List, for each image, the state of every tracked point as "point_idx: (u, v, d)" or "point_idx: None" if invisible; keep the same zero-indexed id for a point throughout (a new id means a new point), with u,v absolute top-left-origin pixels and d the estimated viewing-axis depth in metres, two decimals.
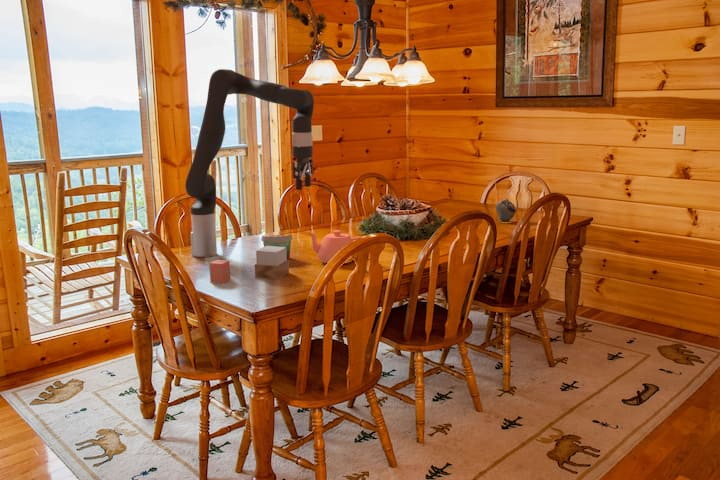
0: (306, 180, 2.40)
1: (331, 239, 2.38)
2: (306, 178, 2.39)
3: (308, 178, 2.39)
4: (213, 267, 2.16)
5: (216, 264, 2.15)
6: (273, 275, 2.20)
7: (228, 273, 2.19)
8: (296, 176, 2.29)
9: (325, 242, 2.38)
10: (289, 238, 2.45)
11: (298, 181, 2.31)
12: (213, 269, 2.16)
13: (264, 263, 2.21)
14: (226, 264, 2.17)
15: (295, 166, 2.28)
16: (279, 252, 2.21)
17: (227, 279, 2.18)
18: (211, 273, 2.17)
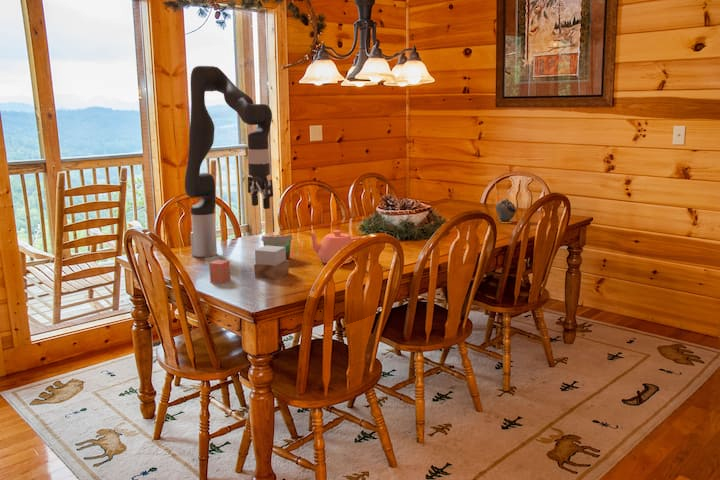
0: (254, 199, 2.28)
1: (331, 239, 2.38)
2: (254, 197, 2.27)
3: (256, 196, 2.28)
4: (213, 267, 2.16)
5: (216, 264, 2.15)
6: (273, 275, 2.20)
7: (228, 273, 2.19)
8: (270, 194, 2.19)
9: (325, 242, 2.38)
10: (289, 238, 2.45)
11: None
12: (213, 269, 2.16)
13: (263, 263, 2.22)
14: (226, 264, 2.17)
15: (269, 184, 2.18)
16: (278, 252, 2.21)
17: (227, 279, 2.18)
18: (211, 273, 2.17)
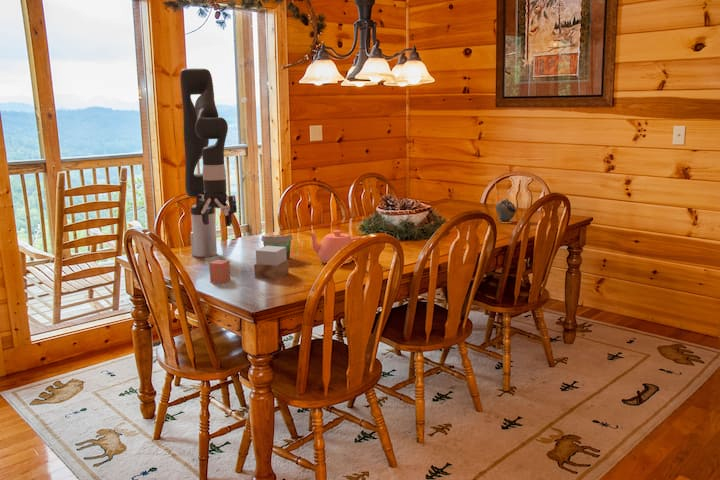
0: (206, 217, 2.15)
1: (331, 239, 2.38)
2: (206, 215, 2.15)
3: (207, 215, 2.16)
4: (213, 267, 2.16)
5: (216, 264, 2.15)
6: (273, 275, 2.20)
7: (228, 273, 2.19)
8: (234, 210, 2.12)
9: (325, 242, 2.38)
10: (289, 238, 2.45)
11: None
12: (213, 269, 2.16)
13: (264, 263, 2.22)
14: (226, 263, 2.17)
15: (233, 200, 2.11)
16: (279, 252, 2.21)
17: (227, 279, 2.18)
18: (211, 273, 2.17)
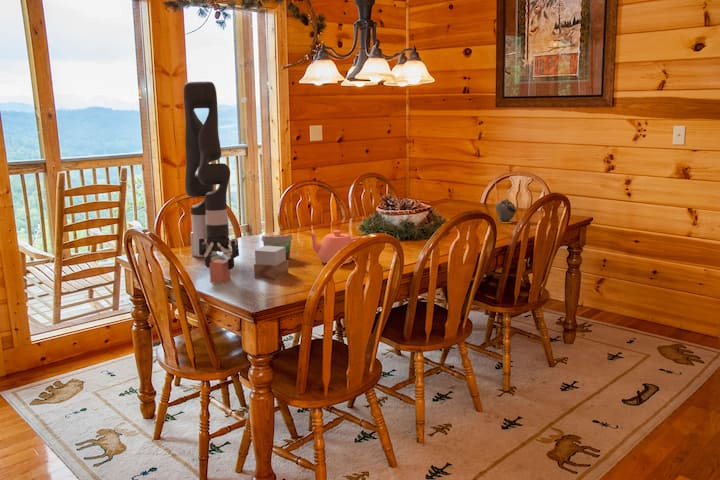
0: (208, 261, 2.18)
1: (331, 239, 2.38)
2: (208, 258, 2.18)
3: (210, 258, 2.19)
4: (213, 267, 2.16)
5: (216, 264, 2.15)
6: (273, 275, 2.20)
7: (228, 273, 2.19)
8: (237, 254, 2.15)
9: (325, 242, 2.38)
10: (289, 238, 2.45)
11: None
12: (213, 269, 2.16)
13: (263, 263, 2.21)
14: (226, 264, 2.17)
15: (236, 244, 2.14)
16: (278, 252, 2.21)
17: (227, 279, 2.18)
18: (211, 273, 2.17)
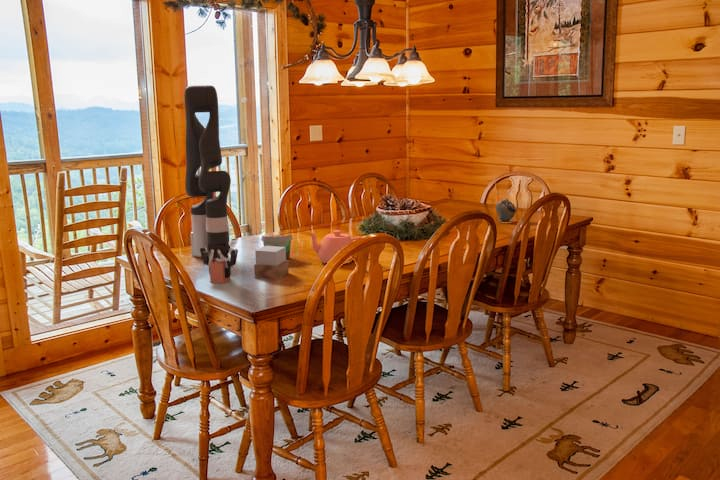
0: None
1: (331, 239, 2.38)
2: None
3: None
4: (213, 267, 2.16)
5: (216, 264, 2.15)
6: (273, 275, 2.20)
7: None
8: (233, 264, 2.16)
9: (325, 242, 2.38)
10: (289, 238, 2.45)
11: None
12: (212, 269, 2.16)
13: (263, 263, 2.21)
14: None
15: (235, 254, 2.15)
16: (278, 252, 2.21)
17: (227, 279, 2.18)
18: (211, 273, 2.17)
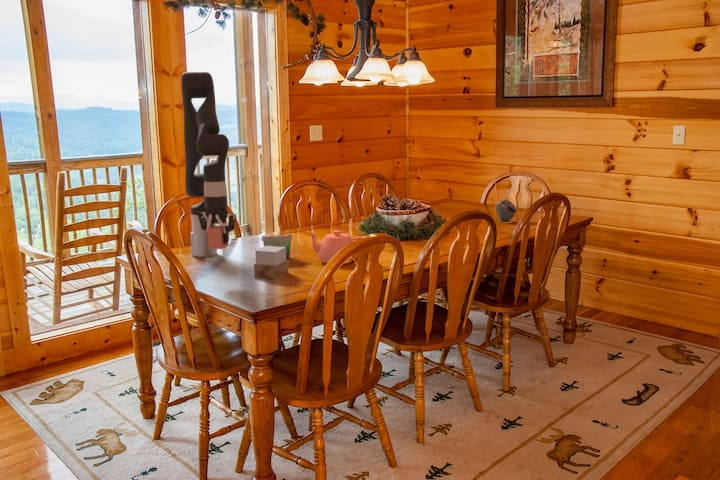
0: None
1: (331, 239, 2.38)
2: None
3: None
4: (211, 232, 2.13)
5: (214, 229, 2.13)
6: (273, 275, 2.20)
7: None
8: (231, 229, 2.13)
9: (325, 242, 2.38)
10: (289, 238, 2.45)
11: None
12: (210, 234, 2.13)
13: (263, 263, 2.21)
14: None
15: (233, 219, 2.12)
16: (278, 252, 2.21)
17: (225, 245, 2.16)
18: (209, 238, 2.14)
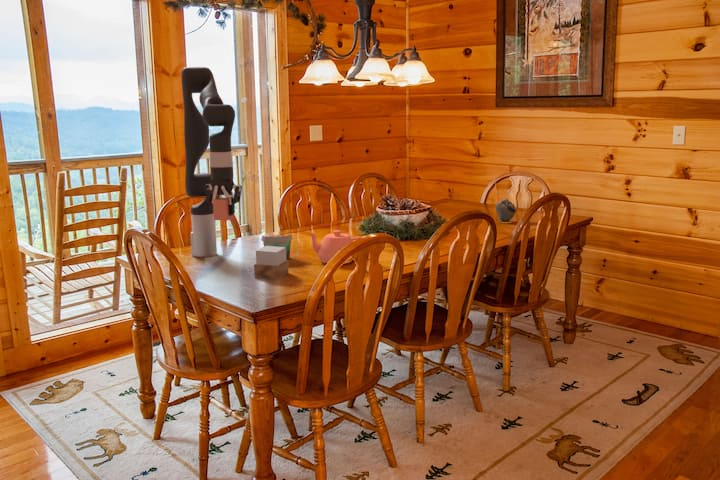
0: None
1: (331, 239, 2.38)
2: None
3: None
4: (217, 203, 2.12)
5: (219, 200, 2.11)
6: (273, 275, 2.20)
7: None
8: (237, 200, 2.12)
9: (325, 242, 2.38)
10: (289, 238, 2.45)
11: None
12: (216, 205, 2.12)
13: (264, 263, 2.21)
14: None
15: (239, 190, 2.11)
16: (279, 252, 2.21)
17: (231, 217, 2.15)
18: (214, 210, 2.13)
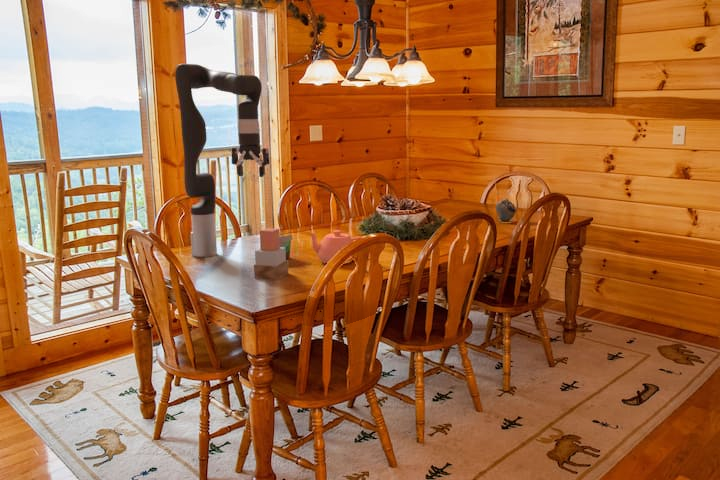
0: (240, 169, 2.32)
1: (331, 239, 2.38)
2: (240, 167, 2.32)
3: (241, 167, 2.32)
4: (263, 234, 2.20)
5: (266, 232, 2.19)
6: (273, 275, 2.20)
7: (277, 241, 2.23)
8: (267, 162, 2.28)
9: (325, 242, 2.38)
10: (289, 238, 2.45)
11: None
12: (263, 236, 2.20)
13: (263, 263, 2.20)
14: (276, 232, 2.21)
15: (266, 152, 2.27)
16: (278, 252, 2.20)
17: (276, 247, 2.23)
18: (261, 241, 2.21)
